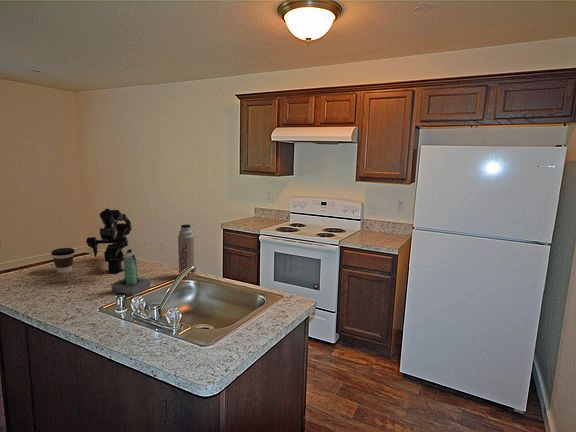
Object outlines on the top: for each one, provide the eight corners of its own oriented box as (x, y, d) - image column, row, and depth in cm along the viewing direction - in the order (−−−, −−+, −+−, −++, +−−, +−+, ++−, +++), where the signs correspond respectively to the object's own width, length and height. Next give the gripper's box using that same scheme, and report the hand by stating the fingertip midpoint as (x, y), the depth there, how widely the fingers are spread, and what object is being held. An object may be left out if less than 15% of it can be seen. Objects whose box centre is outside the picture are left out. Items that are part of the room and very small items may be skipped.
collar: (130, 284, 182) (129, 276, 182) (150, 287, 179) (149, 279, 178) (111, 292, 171) (111, 284, 170) (132, 296, 167) (132, 287, 167)
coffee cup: (49, 271, 198) (47, 250, 196) (70, 267, 206) (69, 246, 204) (57, 276, 191) (55, 253, 189) (79, 271, 200) (78, 249, 198)
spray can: (139, 287, 178) (137, 247, 175) (134, 291, 172) (133, 250, 169) (127, 287, 178) (125, 247, 174) (123, 291, 172) (121, 250, 169)
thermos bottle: (188, 279, 191) (187, 227, 187) (175, 277, 194) (174, 225, 190) (197, 274, 199) (196, 224, 194) (185, 272, 202) (184, 223, 197)
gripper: (86, 221, 182) (80, 248, 173) (126, 221, 186) (122, 247, 177) (91, 233, 191) (86, 260, 182) (129, 232, 195) (126, 258, 186)
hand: (105, 256), depth 182 cm, fingers open, 9 cm apart
